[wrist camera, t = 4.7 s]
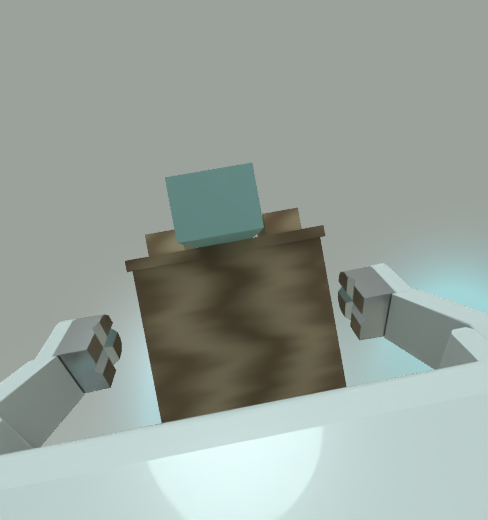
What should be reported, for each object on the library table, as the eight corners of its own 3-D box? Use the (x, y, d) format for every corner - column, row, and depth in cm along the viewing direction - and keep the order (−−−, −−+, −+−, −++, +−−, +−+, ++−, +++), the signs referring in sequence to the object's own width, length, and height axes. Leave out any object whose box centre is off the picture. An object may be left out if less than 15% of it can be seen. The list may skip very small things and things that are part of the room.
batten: (177, 243, 13) (164, 177, 13) (211, 250, 33) (206, 224, 33) (264, 227, 13) (252, 162, 13) (245, 244, 33) (240, 218, 33)
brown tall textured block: (191, 608, 21) (119, 233, 20) (208, 463, 36) (166, 242, 35) (383, 565, 21) (318, 198, 21) (322, 439, 36) (283, 221, 35)
